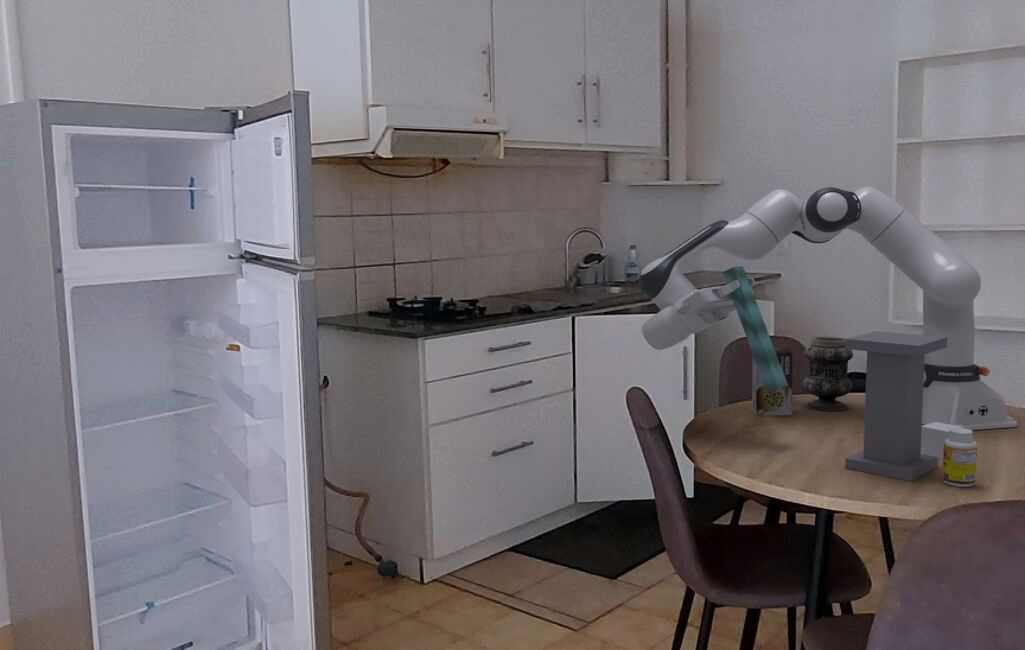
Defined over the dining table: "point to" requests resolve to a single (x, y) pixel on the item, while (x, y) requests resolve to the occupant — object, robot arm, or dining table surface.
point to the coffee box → (776, 399)
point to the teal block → (756, 330)
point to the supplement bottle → (959, 458)
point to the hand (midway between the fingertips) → (746, 282)
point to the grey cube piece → (934, 438)
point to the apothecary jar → (828, 372)
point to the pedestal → (894, 404)
